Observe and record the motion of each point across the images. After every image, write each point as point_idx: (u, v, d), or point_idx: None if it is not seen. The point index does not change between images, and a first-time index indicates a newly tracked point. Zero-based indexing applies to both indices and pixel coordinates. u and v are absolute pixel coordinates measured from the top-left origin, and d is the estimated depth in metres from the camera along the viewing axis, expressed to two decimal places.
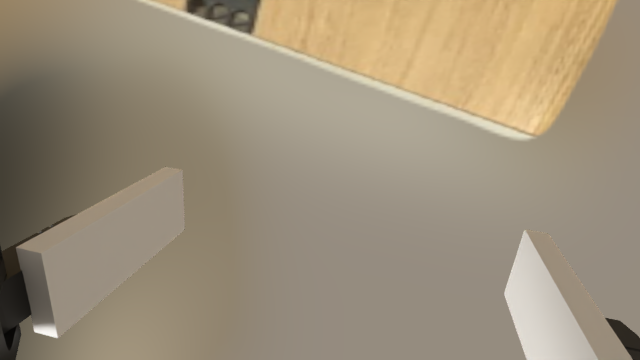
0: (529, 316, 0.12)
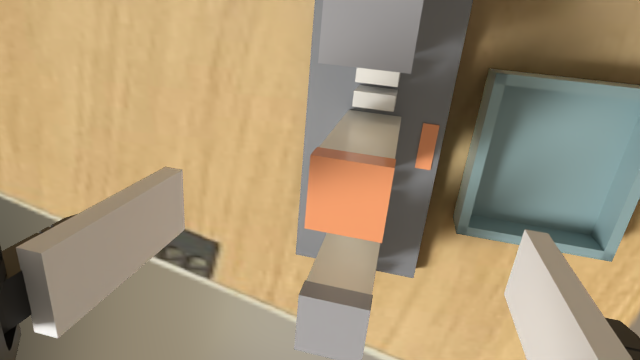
0: (529, 316, 0.12)
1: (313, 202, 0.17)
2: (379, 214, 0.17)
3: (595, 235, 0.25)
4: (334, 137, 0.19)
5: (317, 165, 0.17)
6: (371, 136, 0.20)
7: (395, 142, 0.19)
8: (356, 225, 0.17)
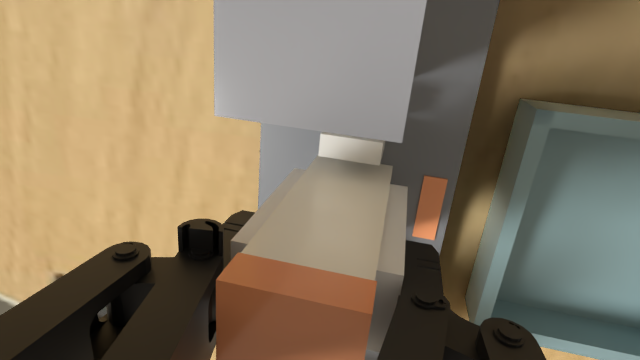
0: None
1: (229, 354, 0.10)
2: None
3: None
4: (278, 221, 0.12)
5: (229, 298, 0.09)
6: (341, 214, 0.12)
7: (379, 228, 0.12)
8: None
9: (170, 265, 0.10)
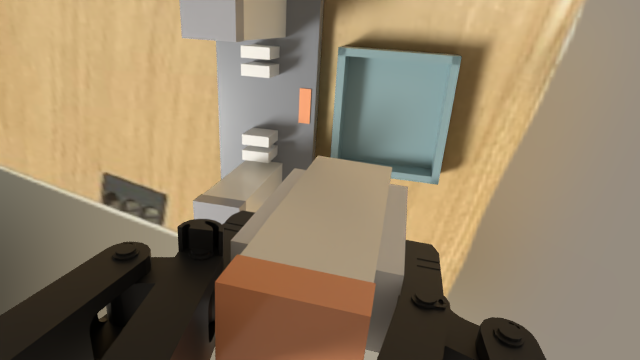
0: None
1: (228, 356, 0.10)
2: None
3: (431, 167, 0.34)
4: (277, 222, 0.12)
5: (228, 300, 0.09)
6: (340, 216, 0.12)
7: (378, 230, 0.12)
8: None
9: (170, 265, 0.10)
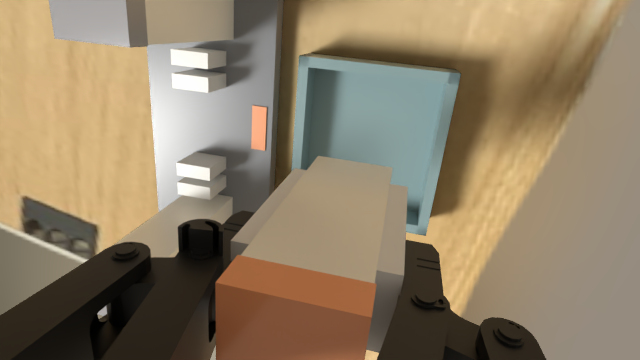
0: None
1: (229, 357, 0.10)
2: None
3: (418, 212, 0.27)
4: (277, 223, 0.12)
5: (229, 301, 0.09)
6: (341, 216, 0.12)
7: (379, 230, 0.12)
8: None
9: (170, 265, 0.10)
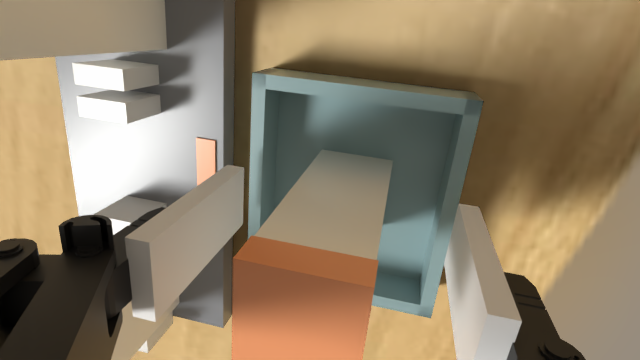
0: (454, 277, 0.13)
1: (244, 328, 0.11)
2: (349, 355, 0.10)
3: (420, 281, 0.20)
4: (286, 208, 0.13)
5: (245, 275, 0.10)
6: (345, 203, 0.13)
7: (380, 216, 0.13)
8: None
9: (55, 266, 0.10)
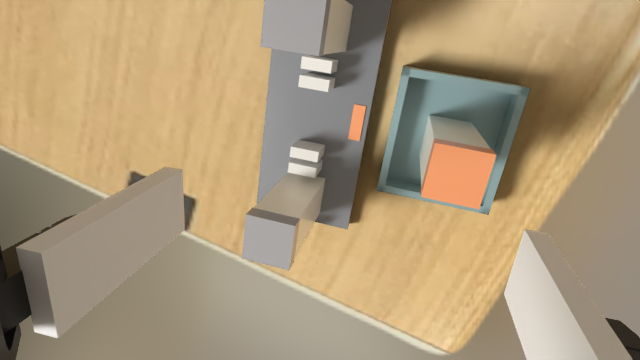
0: (529, 316, 0.12)
1: (430, 178, 0.24)
2: (479, 187, 0.23)
3: None
4: (438, 133, 0.26)
5: (438, 150, 0.23)
6: (462, 134, 0.27)
7: (482, 139, 0.26)
8: (461, 195, 0.24)
9: None
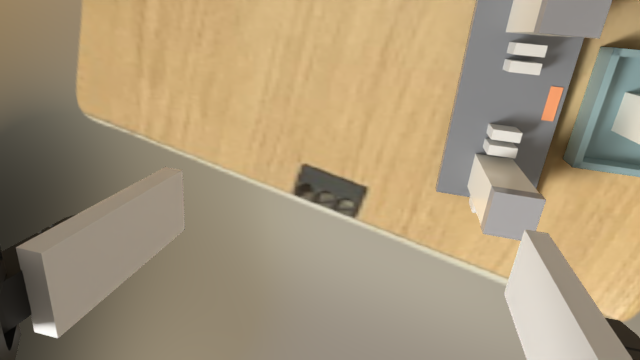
0: (529, 316, 0.12)
1: None
2: None
3: None
4: None
5: None
6: None
7: None
8: None
9: None
